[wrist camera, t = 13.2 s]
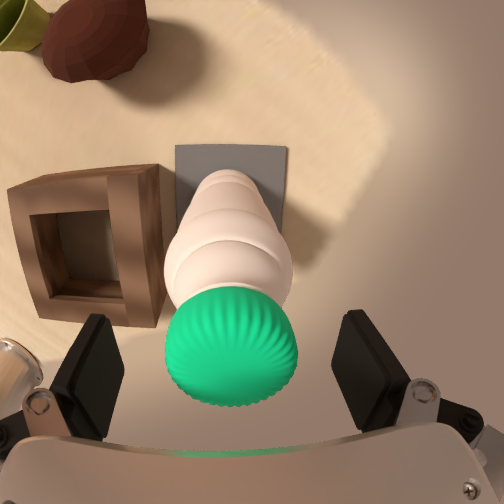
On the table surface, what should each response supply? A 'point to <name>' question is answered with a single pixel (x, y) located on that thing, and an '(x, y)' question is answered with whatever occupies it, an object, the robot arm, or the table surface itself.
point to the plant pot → (21, 25)
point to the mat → (233, 158)
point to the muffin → (95, 39)
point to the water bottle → (229, 296)
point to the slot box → (124, 238)
